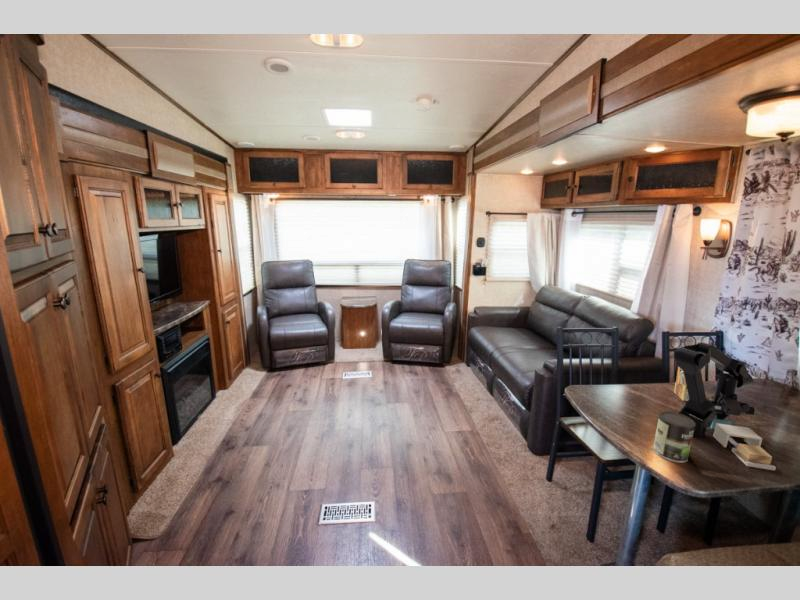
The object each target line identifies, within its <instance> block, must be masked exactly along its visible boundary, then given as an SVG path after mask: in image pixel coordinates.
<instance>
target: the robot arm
mask: <svg viewBox="0 0 800 600" xmlns="http://www.w3.org/2000/svg"><path fill="white" fill-rule="evenodd" d="M673 356H674V361H675V363H676V365H677V367H678V366H679V367H680V368H681V369H682V370H683V371H684V376H685V381H686V385H687V390H688V395H689V400H688V401H685V403H684V404H685V405H684V406H683V407H682V408H681V409H680V411H679V412H678V414H681V415H684V416H686V417H688V418H690V419H692V420H693V421H694V422H695V424H696V426H695V428H694V433H693V437H692V438H701V437H703V438H704V437H706V433H707V428H710V427H711V424H712V422H713V420H714V419H722V420H726V418H727V417H729V416H731V415H733V416H738V417H740V416H741V415H742V414H745V415H750V416H751V415H752V416H755V414H756V408H755V407H754V406H752V405H751V404H750V403H749V402H748V401H741V400H738V394H737V393H736V391H737V389H738V388H743V387H744V388H745V387H749V386H751V385H753V382H754V378H753V376H752V375H751V374H750V371H749V370H748V369H747V366H746V364H745V362H744V361H741V360H738V359H735V358H733V357H732V358H731V357H730V356H729V355H727V354H726V353H724V352H723V351H721V350H720V349H718V348H717V346H715V345H713V344H709V343H706V342H698V343H696V344H690V345H689V344H688V345H684V346H681V347H680V348H678V349H676V350H675V351H674V354H673ZM711 361H712V362H713V363H715V364H714V366H715V367H716V368H717V369H718V370H720V371H721V372H720V373H719V374H716V375H715V376H714V377H715V378H716V379H717V381H716V386H713V389H712V390H714V394H713V395H711V397H710V398H711V399H708V398H707V397H706V396H707V395H706V392H705V385H704V380H703V375H702V369H703V368H704V367H706V365H707V364H709V363H711ZM724 372H725V373H724Z"/></svg>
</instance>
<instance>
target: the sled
mask: <svg viewBox="0 0 800 600" xmlns="http://www.w3.org/2000/svg"><path fill="white" fill-rule="evenodd" d="M716 423H718V424H726V425H733V421H732V420H730V419H724V420H722V419H714V420H713V422H712V424H711V426H710V427H709V428H710V429H711V430H715V425H716ZM728 442H730V444H732V445H733V446H734V447H731V452H732V453H733V454H734V455H735V456H736V457H737V458H738V460H740V461H741V462H742V463H743V464H744V465H745V466H746V467H750V468H756V469H762V470H763V469H764V470H769V471H776V470H777V467H776V466H775V465H773V464H770V465H766V464H760V463H753V462H747V461H746V462H745V461H744V460H743V459H742V458H741V457H740V456H739V455H738V454H737V453H736V452H737V448H738V444H739V443H738V442H737V441H735V440H734V439H733V438H732V436H729V438H728Z"/></svg>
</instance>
